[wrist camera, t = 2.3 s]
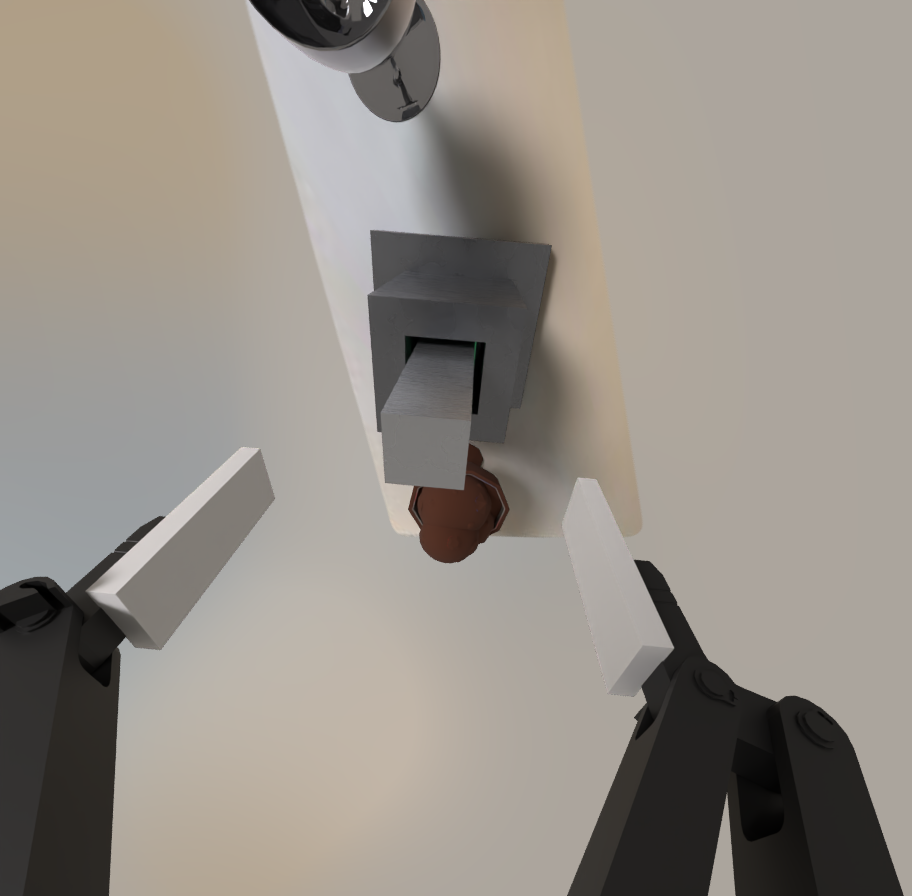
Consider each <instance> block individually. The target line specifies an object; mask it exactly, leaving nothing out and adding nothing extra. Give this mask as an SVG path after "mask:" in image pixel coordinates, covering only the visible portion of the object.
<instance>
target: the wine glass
mask: <svg viewBox="0 0 912 896" xmlns="http://www.w3.org/2000/svg"><path fill="white" fill-rule="evenodd" d="M249 1H250V2H251V4H252V5H253V6H254V8H255V9H256V10H257V11H258V12H259V13H260V14H261V15H262V17H263V18H264V19H265V20H266V21H267V22H268V23H269V24H270V25H271V26H272V27H273V28H274V29H275V30H276V31H277V32H278V33H279V34H280V35H281V36H282V37H283V38H284V39H286V40H287V41H288V42H290V43H291V44H292V45H293V46H295V47H296V48H297V49H298V50H300V51H301V52H302V53H304V54H305V55H306V56H308V57H309V58H310V59H312V60H314V61H316V62H318V63H320V64H322V65H324V66H326V67H328V68H331V69H333V70H336V71H340V72H344V73H348V74H349V77H350V80H351V83H352V85H353V87H354V89H355V91H356V93H357V95H358V96H359V98H360V99H361V101H362V102H363V104H364V105H365V106H366V107H367V108H368V109H369V110H370V111H371V112H373V113H374V114H375V115H377V116H379V117H381V118H383V119H385V120H389V121H404V120H408V119H410V118H411V117H413V116H415V115H416V114H418V113H419V112H420V111H421V110H422V109H423V108H424V107H425V105H426V104H427V103H428V101H429V99H430V97H431V96H432V94H433V91H434V88H435V86H436V83H437V78H438V74H439V66H440V46H439V38H438V33H437V29H436V25H435V22H434V20H433V17H432V15H431V12H430V10H429V9H428V7H427V5H426V3H425V2H424V0H249Z"/></svg>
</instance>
